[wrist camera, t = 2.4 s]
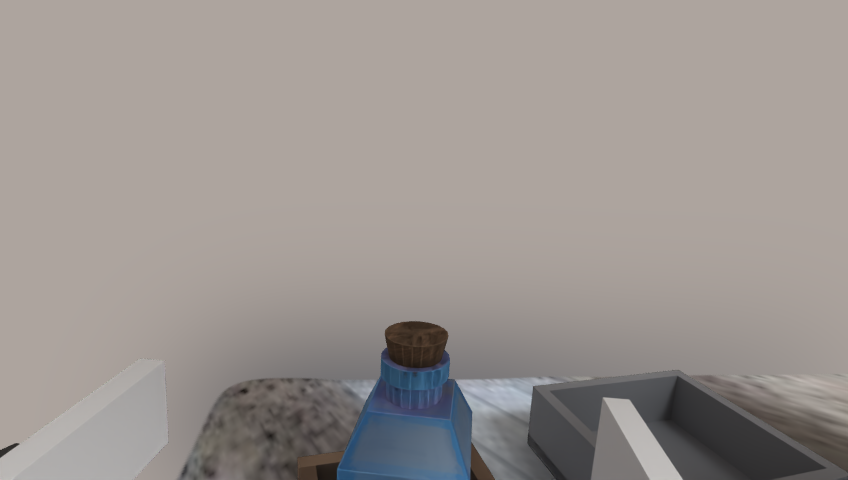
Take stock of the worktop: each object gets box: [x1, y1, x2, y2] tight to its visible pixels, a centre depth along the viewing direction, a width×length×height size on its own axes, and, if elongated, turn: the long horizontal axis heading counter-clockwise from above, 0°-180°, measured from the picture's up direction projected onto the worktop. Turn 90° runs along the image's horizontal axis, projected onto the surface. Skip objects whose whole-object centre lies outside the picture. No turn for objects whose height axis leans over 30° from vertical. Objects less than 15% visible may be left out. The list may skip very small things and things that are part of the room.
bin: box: [528, 370, 848, 480], centre depth 32 cm, size 13×13×4 cm
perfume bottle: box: [337, 321, 472, 480], centre depth 26 cm, size 6×6×12 cm
